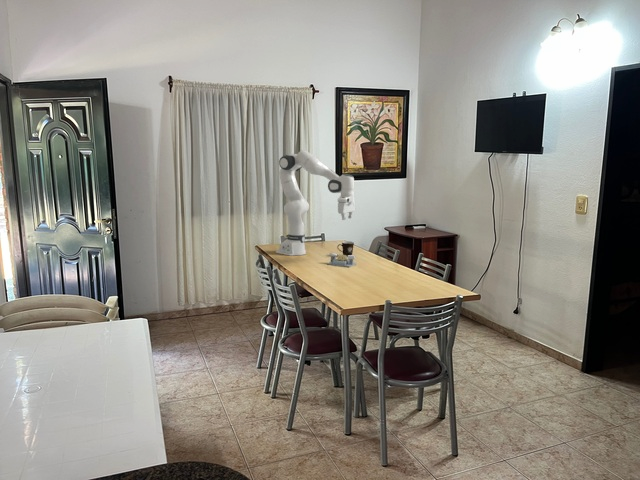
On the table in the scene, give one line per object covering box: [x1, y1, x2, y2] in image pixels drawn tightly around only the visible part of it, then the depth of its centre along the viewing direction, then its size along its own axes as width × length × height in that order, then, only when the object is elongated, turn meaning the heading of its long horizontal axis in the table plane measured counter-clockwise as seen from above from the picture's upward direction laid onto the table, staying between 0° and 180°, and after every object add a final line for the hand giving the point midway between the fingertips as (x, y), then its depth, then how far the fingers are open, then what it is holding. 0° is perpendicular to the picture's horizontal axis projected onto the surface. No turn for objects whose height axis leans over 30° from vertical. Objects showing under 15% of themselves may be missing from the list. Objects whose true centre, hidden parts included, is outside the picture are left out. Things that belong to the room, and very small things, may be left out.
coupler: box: [337, 254, 348, 262], centre depth 330 cm, size 4×4×5 cm
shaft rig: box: [327, 252, 357, 268], centre depth 330 cm, size 18×11×7 cm, turn 61°
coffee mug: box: [336, 240, 355, 258], centre depth 357 cm, size 12×9×10 cm
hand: (346, 219), depth 335 cm, fingers open, 8 cm apart
